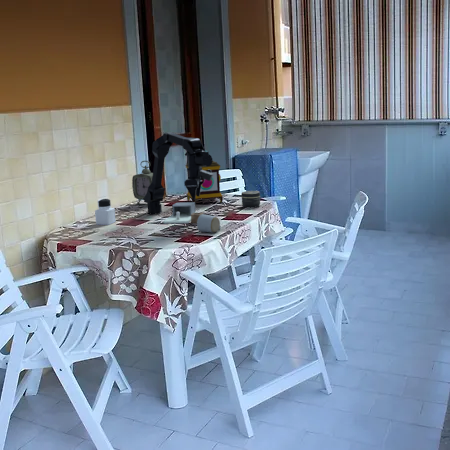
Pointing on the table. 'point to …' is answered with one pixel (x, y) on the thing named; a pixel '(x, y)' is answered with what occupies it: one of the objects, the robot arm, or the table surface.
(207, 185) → the decorative lantern
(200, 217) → the ceramic mug
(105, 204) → the medicine bottle
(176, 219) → the board
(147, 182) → the tabletop clock
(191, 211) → the cover
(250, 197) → the jar
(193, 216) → the block
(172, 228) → the table surface
